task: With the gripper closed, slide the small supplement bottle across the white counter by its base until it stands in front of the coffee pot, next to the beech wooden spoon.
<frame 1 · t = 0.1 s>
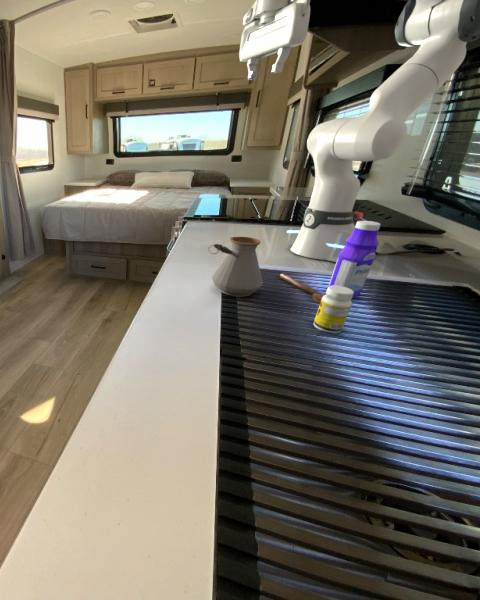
hand: (263, 76, 83), 48 cm above the worktop, tool pointing down, fingers open, 8 cm apart
bottle: (342, 295, 80), on the worktop
supplement bottle: (326, 328, 66), on the worktop
coffee pot: (225, 296, 80), on the worktop
wooden spoon: (306, 291, 81), on the worktop
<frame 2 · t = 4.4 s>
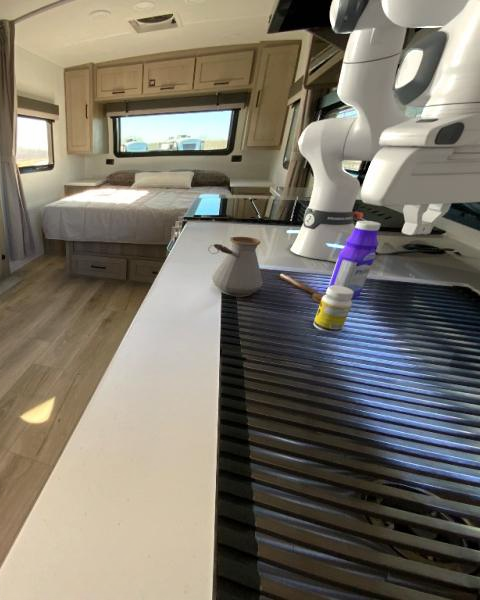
hand: (414, 234, 50), 21 cm above the worktop, tool pointing down, fingers closed
nothing on the worktop moved.
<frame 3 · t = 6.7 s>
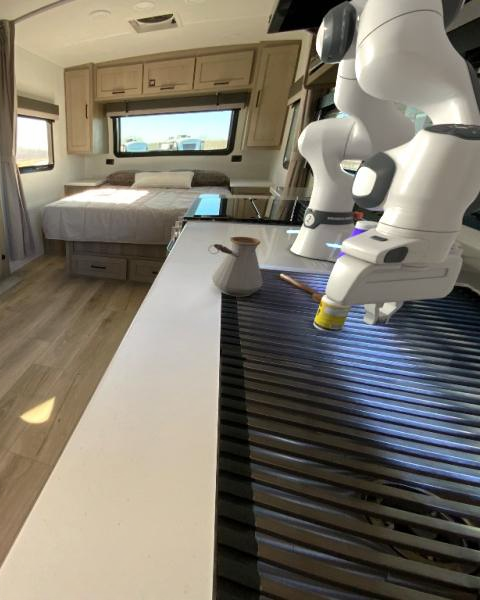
hand: (374, 322, 56), 6 cm above the worktop, tool pointing down, fingers closed
nothing on the worktop moved.
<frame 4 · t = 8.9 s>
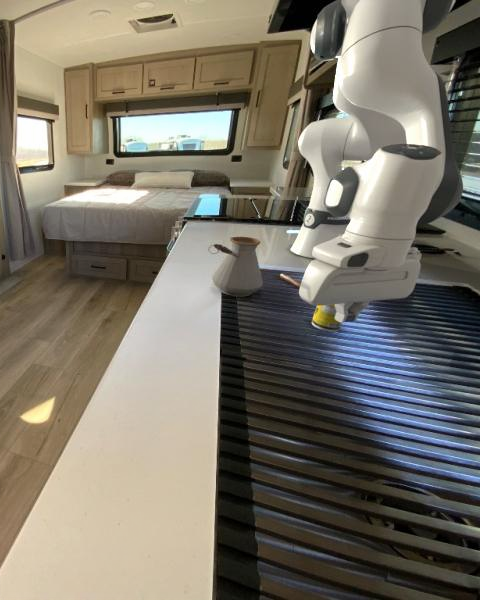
hand: (344, 320, 62), 3 cm above the worktop, tool pointing down, fingers closed, pressing on supplement bottle
supplement bottle: (324, 327, 66), on the worktop, touching gripper
everything else where it was.
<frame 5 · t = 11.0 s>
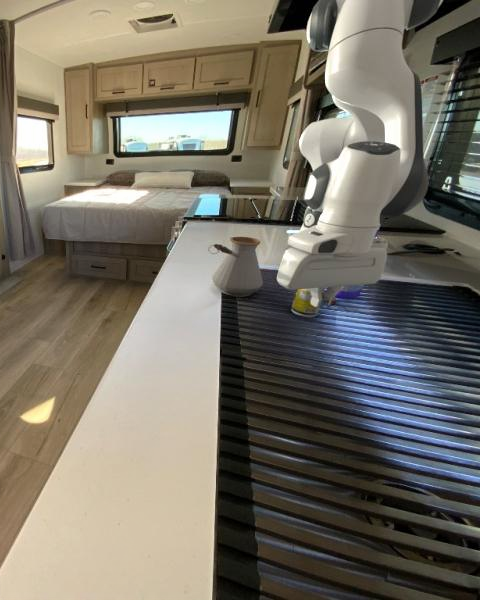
hand: (319, 305, 67), 3 cm above the worktop, tool pointing down, fingers closed, pressing on supplement bottle
supplement bottle: (303, 313, 71), on the worktop, touching gripper
everything else where it was.
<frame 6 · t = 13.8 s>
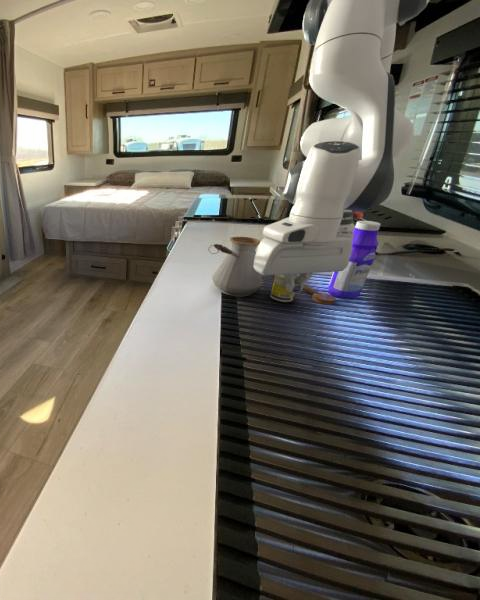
hand: (292, 290, 74), 3 cm above the worktop, tool pointing down, fingers closed
supplement bottle: (281, 299, 78), on the worktop, touching gripper
everything else where it was.
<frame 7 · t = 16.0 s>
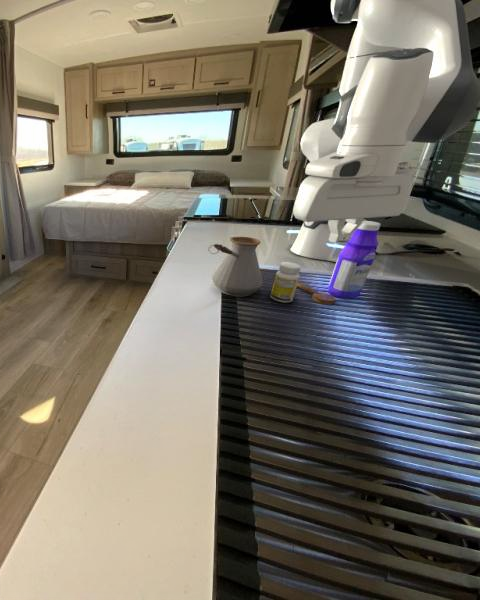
hand: (338, 241, 63), 16 cm above the worktop, tool pointing down, fingers closed
supplement bottle: (281, 299, 78), on the worktop
everything else where it was.
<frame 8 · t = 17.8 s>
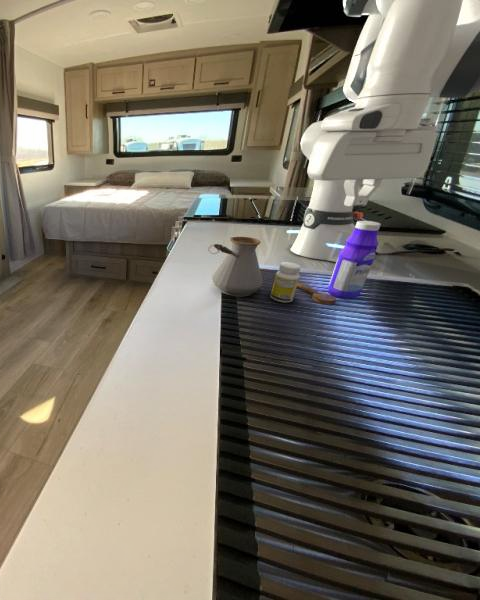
hand: (354, 205, 59), 23 cm above the worktop, tool pointing down, fingers closed
nothing on the worktop moved.
at the end: supplement bottle inside the target area (1.8 cm from its centre), on the worktop; supplement bottle tilted 0°; coffee pot moved 0.2 cm from its start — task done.
